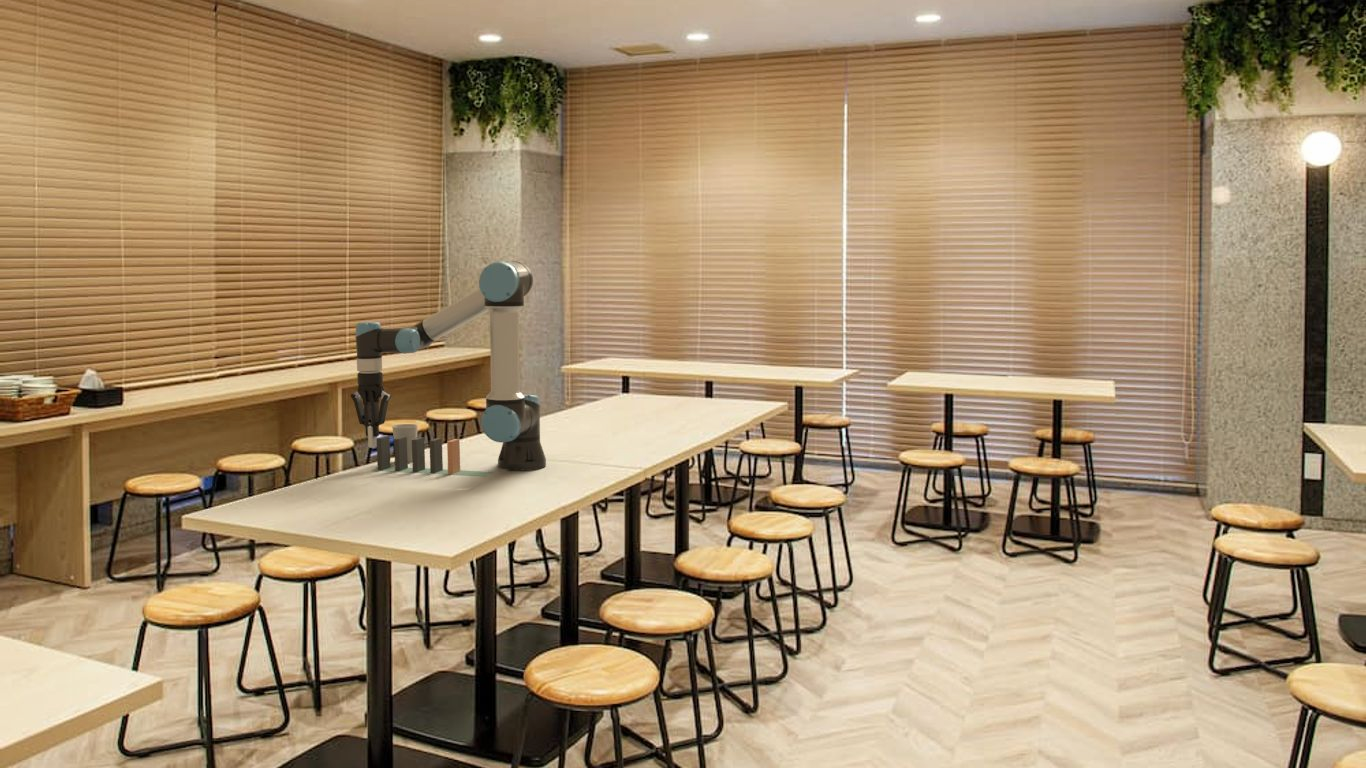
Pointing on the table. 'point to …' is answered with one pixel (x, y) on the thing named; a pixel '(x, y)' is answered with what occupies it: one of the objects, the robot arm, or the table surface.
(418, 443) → the domino
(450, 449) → the domino
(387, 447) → the domino
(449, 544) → the table surface
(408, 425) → the cup
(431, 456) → the domino
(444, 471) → the runner
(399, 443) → the domino
